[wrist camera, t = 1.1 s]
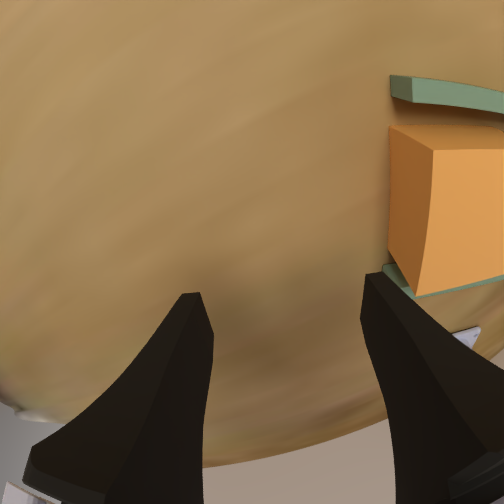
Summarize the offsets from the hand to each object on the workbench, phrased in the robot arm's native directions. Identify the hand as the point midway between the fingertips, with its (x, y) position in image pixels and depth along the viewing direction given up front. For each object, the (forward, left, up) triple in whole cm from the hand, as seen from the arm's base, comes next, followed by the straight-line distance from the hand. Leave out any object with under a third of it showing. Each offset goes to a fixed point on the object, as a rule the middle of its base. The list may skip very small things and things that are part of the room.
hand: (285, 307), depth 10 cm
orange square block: (0, -11, -9) cm, 14 cm away
